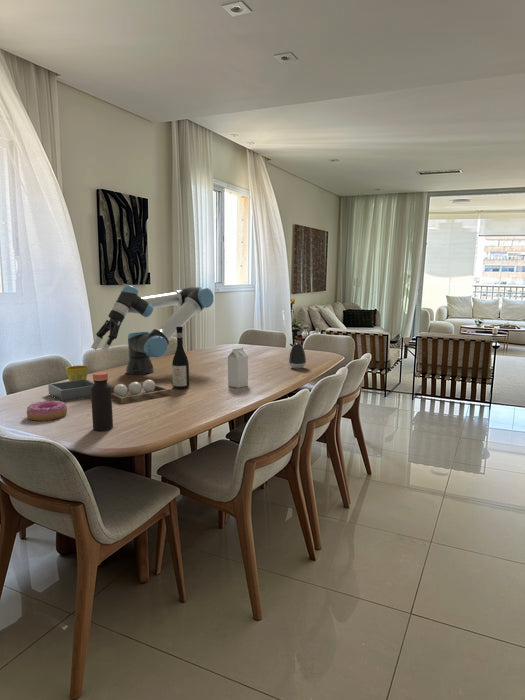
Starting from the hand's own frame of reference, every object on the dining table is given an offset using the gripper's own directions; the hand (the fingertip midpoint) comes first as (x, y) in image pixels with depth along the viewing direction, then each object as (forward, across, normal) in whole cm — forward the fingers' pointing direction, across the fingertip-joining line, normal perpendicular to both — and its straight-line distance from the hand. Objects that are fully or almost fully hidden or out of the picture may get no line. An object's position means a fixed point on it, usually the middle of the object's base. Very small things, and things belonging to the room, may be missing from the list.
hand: (98, 349), depth 237 cm
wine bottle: (+2, +33, +33) cm, 47 cm away
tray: (+14, +32, +13) cm, 37 cm away
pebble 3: (+10, +31, +19) cm, 38 cm away
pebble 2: (+14, +32, +13) cm, 37 cm away
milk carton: (-10, +49, +53) cm, 73 cm away
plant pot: (+21, -3, +1) cm, 21 cm away
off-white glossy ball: (+18, +32, +7) cm, 37 cm away
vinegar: (+33, +70, -12) cm, 78 cm away
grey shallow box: (+25, +14, -5) cm, 29 cm away
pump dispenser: (-42, +34, +99) cm, 113 cm away
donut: (+38, +41, -21) cm, 60 cm away
